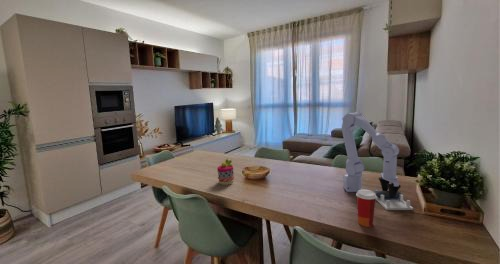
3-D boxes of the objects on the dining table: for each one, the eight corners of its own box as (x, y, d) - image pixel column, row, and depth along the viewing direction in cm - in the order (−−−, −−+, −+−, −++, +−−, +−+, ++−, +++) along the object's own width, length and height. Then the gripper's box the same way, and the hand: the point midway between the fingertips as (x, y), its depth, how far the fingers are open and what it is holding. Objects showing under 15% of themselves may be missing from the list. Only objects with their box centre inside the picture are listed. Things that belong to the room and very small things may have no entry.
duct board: (386, 210, 112) (386, 202, 111) (372, 196, 127) (372, 189, 126) (413, 209, 111) (413, 201, 110) (396, 196, 126) (396, 188, 125)
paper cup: (369, 218, 106) (370, 188, 103) (379, 227, 98) (380, 195, 96) (351, 219, 105) (352, 189, 103) (360, 228, 98) (361, 196, 96)
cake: (230, 186, 150) (229, 163, 148) (215, 185, 154) (213, 162, 151) (236, 180, 160) (235, 158, 157) (222, 179, 163) (220, 158, 161)
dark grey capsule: (377, 199, 120) (378, 192, 120) (374, 196, 124) (374, 189, 123) (402, 199, 119) (402, 192, 119) (398, 196, 123) (398, 189, 123)
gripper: (406, 173, 112) (404, 200, 114) (390, 164, 126) (389, 188, 128) (390, 173, 112) (389, 200, 115) (376, 164, 127) (375, 188, 129)
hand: (388, 194), depth 121 cm, fingers open, 7 cm apart
